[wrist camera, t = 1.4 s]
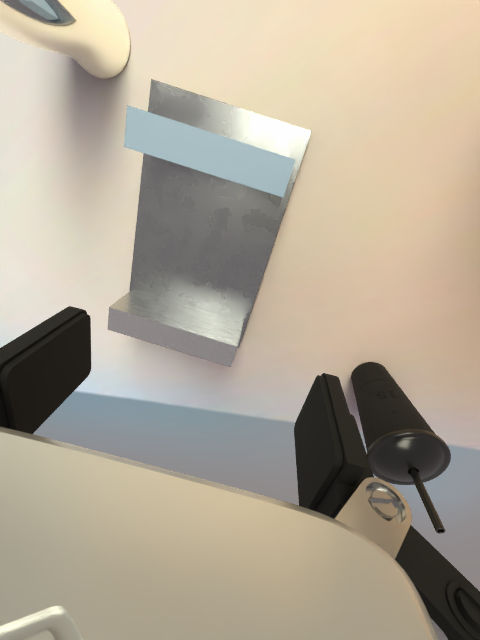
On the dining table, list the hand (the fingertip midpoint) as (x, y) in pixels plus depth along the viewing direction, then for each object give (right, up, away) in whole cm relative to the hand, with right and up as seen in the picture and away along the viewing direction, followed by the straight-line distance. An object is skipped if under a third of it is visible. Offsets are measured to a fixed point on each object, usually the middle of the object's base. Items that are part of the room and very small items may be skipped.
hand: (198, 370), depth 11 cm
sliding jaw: (0, +19, +17) cm, 25 cm away
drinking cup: (+20, -6, +29) cm, 36 cm away
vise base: (-2, +12, +23) cm, 26 cm away
